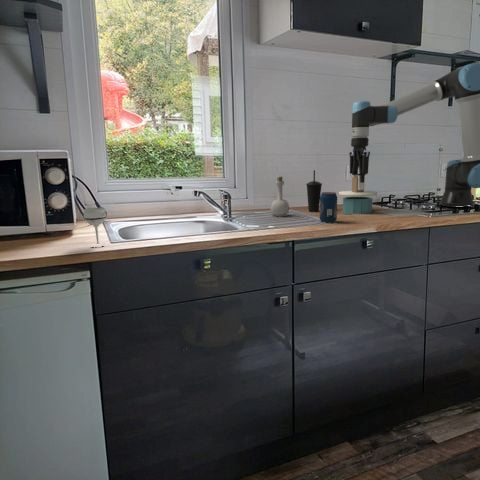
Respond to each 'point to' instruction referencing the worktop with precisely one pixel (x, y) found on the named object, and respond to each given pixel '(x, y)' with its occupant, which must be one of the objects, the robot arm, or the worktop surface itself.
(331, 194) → the soda can
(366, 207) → the bowl
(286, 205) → the potion bottle
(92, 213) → the wineglass
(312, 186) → the drinking cup
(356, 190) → the lid
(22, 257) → the worktop surface
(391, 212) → the mat
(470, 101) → the robot arm
